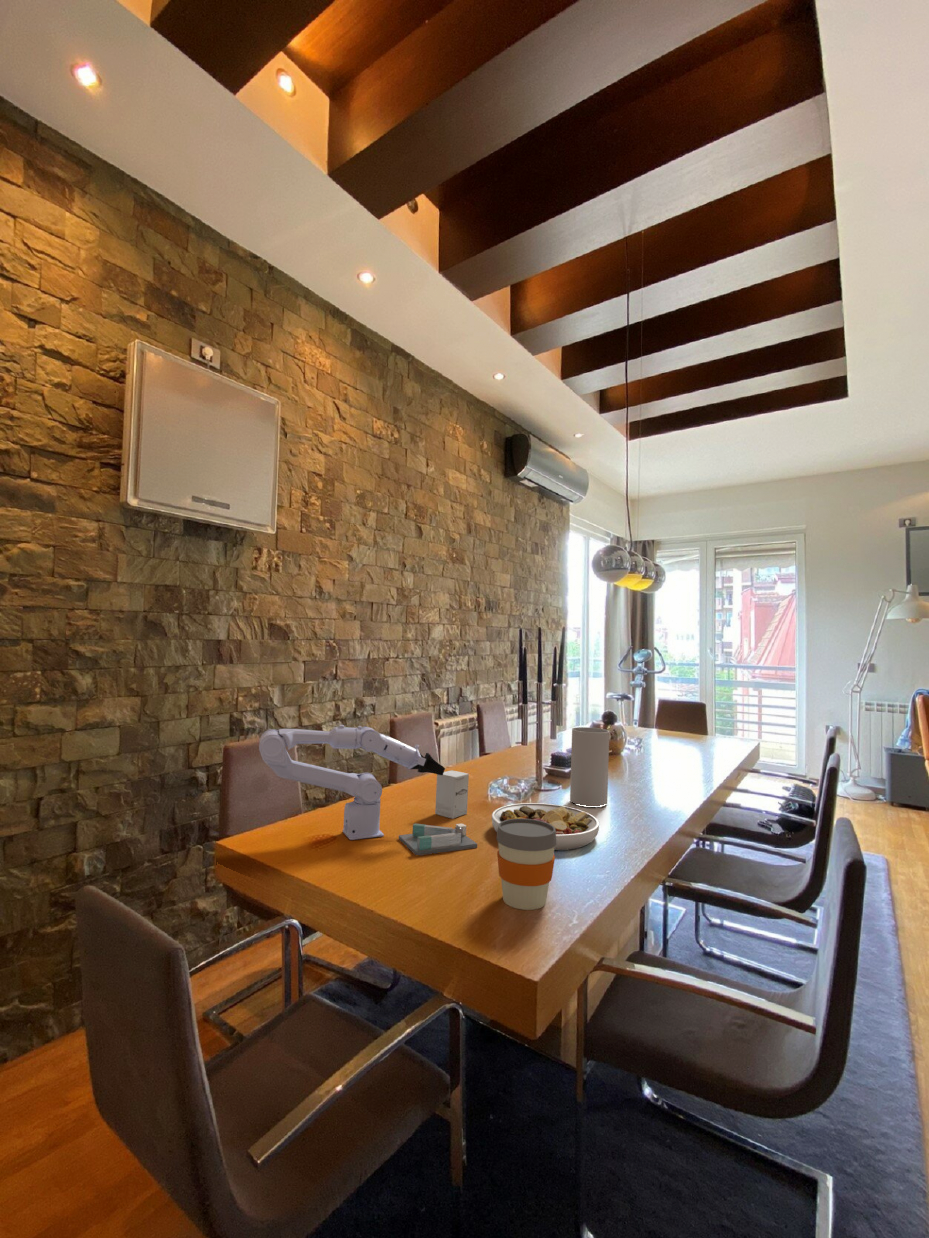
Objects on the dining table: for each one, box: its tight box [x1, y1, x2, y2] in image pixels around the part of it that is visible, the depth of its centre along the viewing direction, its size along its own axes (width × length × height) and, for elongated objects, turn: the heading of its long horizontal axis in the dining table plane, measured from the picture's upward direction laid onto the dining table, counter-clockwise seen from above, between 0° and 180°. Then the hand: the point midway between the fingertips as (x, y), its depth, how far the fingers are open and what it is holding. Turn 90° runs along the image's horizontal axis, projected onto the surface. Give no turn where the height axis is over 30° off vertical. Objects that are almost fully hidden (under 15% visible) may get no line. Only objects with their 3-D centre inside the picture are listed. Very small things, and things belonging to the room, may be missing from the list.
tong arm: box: [412, 823, 453, 837], centre depth 153 cm, size 10×2×3 cm, turn 78°
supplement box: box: [435, 769, 470, 820], centre depth 179 cm, size 7×7×13 cm
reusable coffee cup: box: [496, 819, 557, 911], centre depth 121 cm, size 13×13×15 cm
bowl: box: [491, 802, 600, 851], centre depth 163 cm, size 30×30×8 cm
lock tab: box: [455, 823, 467, 836], centre depth 157 cm, size 2×2×2 cm
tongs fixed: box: [417, 826, 463, 850], centre depth 148 cm, size 13×3×4 cm, turn 116°
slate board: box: [398, 828, 478, 856], centre depth 152 cm, size 17×13×1 cm
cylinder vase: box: [569, 726, 610, 806], centre depth 198 cm, size 12×12×25 cm
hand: (438, 770), depth 165 cm, fingers open, 7 cm apart
